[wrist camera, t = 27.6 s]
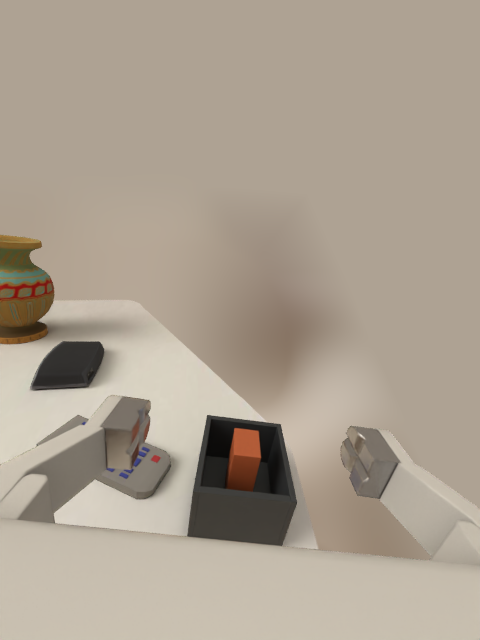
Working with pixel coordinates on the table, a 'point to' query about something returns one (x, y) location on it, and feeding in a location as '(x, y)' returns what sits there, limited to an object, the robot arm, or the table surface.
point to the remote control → (143, 472)
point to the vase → (22, 291)
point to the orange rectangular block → (243, 460)
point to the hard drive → (69, 365)
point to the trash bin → (235, 505)
